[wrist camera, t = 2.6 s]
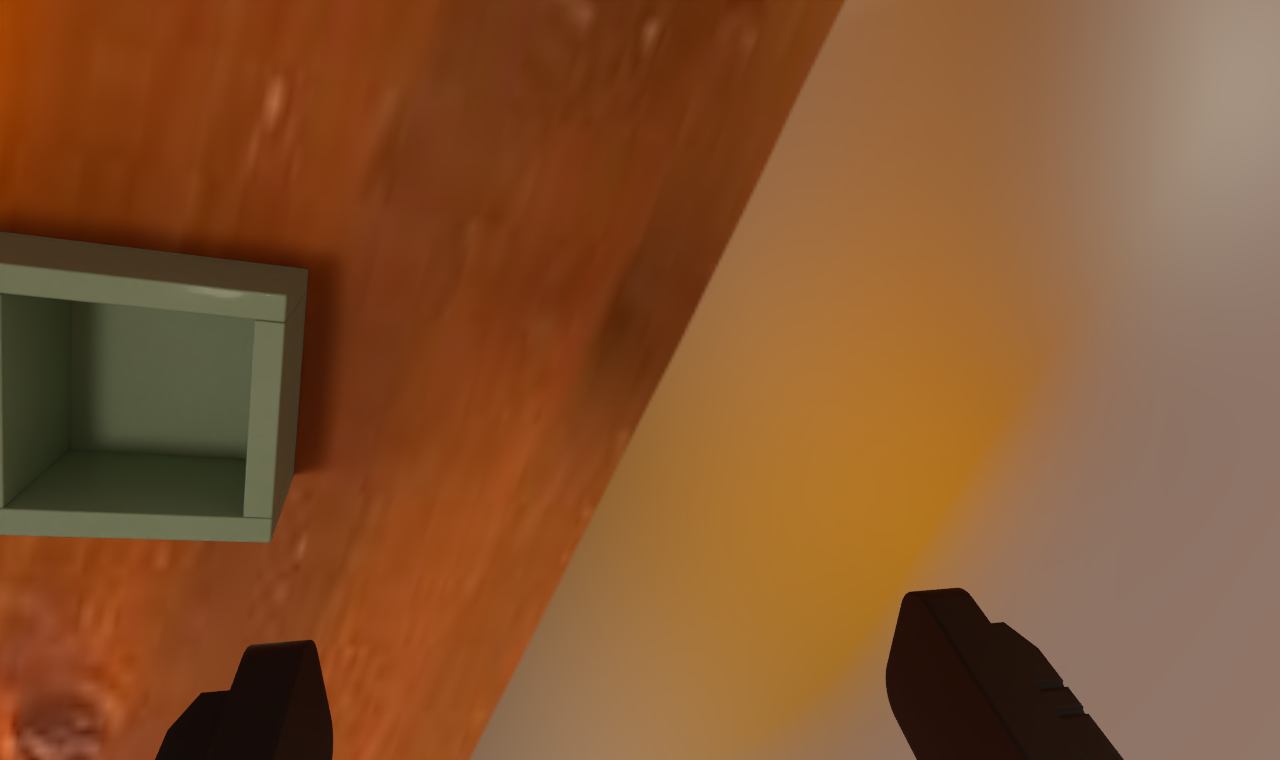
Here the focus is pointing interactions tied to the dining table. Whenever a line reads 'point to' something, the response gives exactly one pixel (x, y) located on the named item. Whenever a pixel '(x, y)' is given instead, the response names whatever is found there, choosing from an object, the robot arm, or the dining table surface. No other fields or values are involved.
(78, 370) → the rack
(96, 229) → the dining table surface
